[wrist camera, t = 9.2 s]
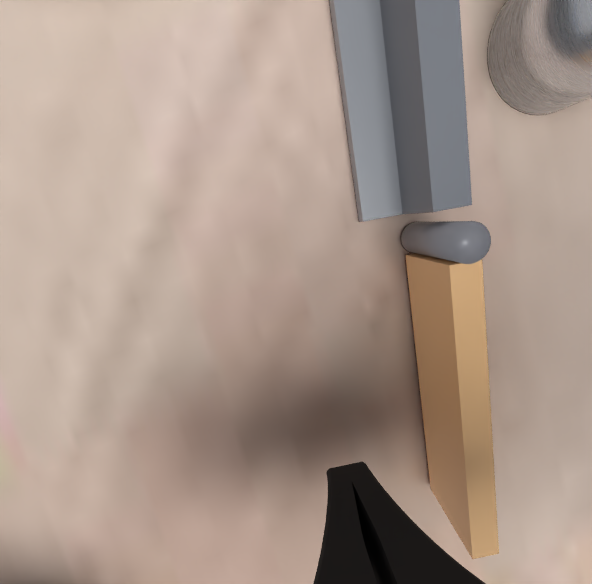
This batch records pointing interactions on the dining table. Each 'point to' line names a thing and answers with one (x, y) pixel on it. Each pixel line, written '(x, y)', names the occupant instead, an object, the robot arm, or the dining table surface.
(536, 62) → the steel cylinder
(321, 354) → the dining table surface
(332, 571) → the robot arm
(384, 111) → the housing
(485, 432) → the gate
